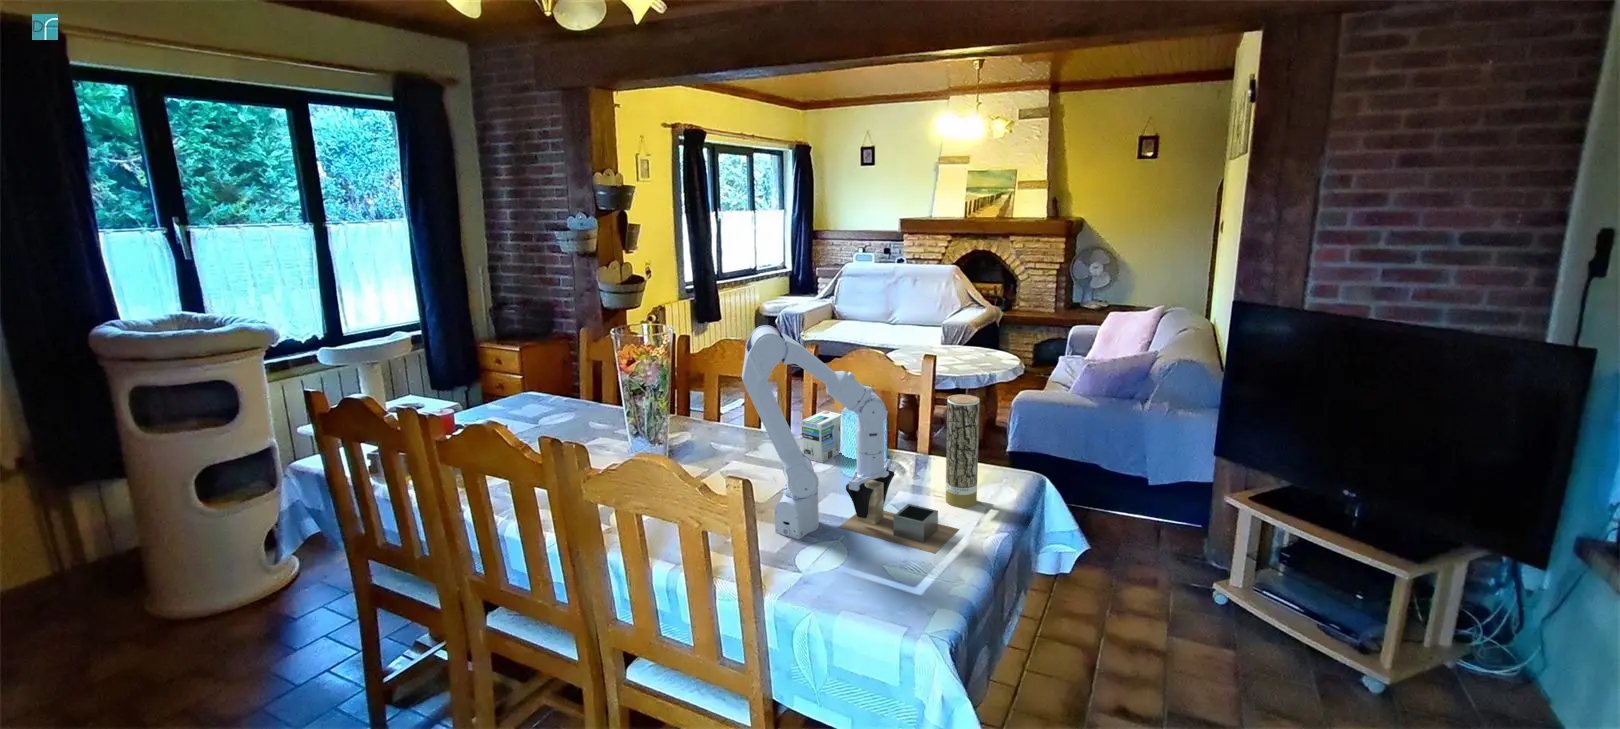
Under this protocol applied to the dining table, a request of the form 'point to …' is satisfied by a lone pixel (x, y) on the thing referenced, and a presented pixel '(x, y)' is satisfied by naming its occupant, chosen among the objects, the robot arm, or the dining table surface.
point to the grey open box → (915, 523)
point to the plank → (885, 532)
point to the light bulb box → (821, 436)
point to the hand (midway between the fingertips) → (870, 510)
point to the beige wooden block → (874, 503)
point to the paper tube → (962, 450)
